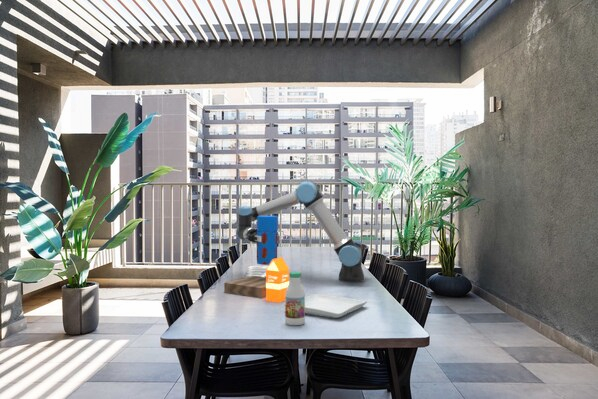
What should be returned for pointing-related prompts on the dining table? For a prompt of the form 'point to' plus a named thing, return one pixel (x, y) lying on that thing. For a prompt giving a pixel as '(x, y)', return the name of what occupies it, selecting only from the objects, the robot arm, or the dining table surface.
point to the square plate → (331, 305)
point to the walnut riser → (247, 287)
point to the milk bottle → (295, 301)
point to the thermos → (267, 239)
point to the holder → (256, 271)
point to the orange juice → (277, 280)
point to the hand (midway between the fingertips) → (270, 238)
